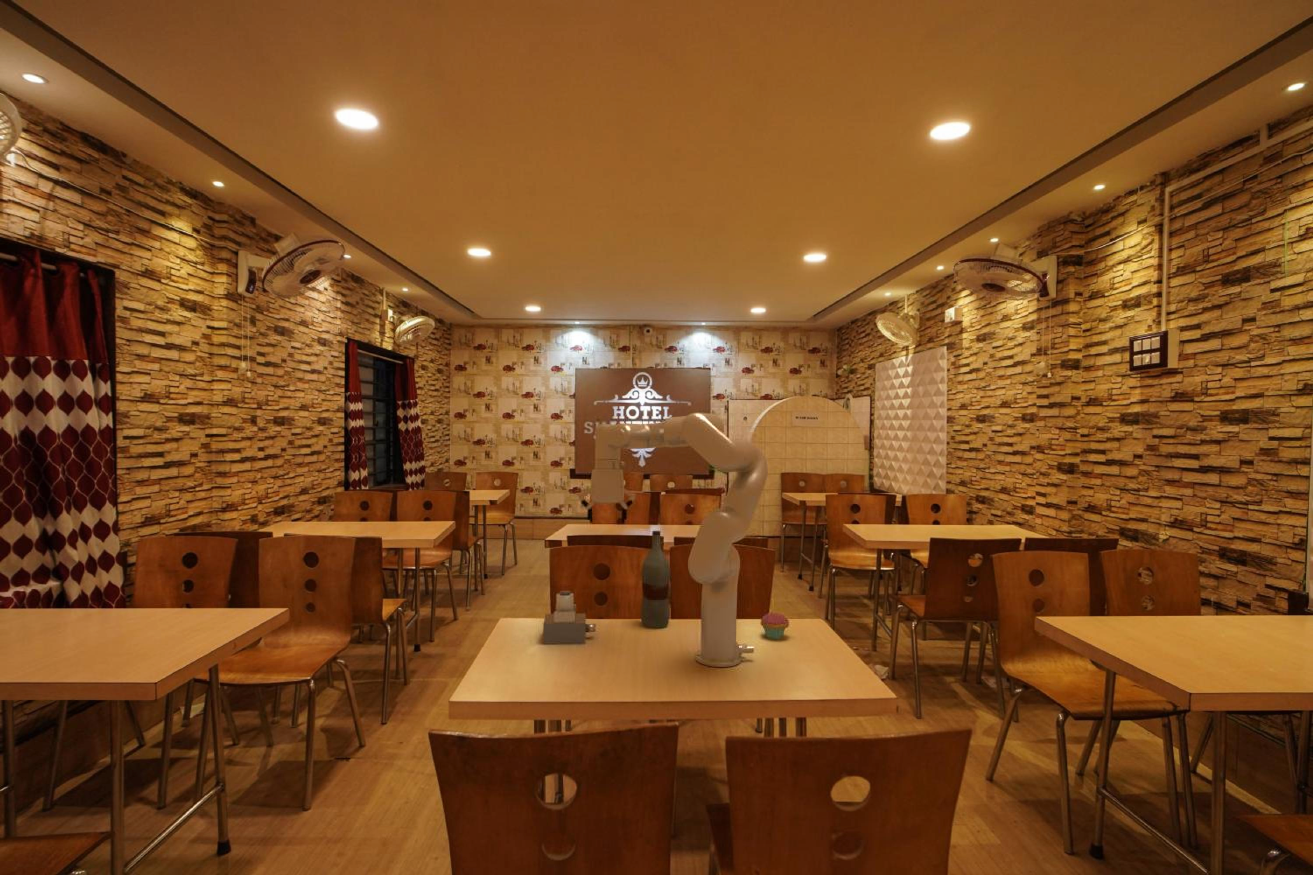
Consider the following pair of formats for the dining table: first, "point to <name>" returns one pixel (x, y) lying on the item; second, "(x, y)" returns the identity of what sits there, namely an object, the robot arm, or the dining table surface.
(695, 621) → the dining table surface
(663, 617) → the bottle
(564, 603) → the toy camera lens
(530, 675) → the dining table surface
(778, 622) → the cupcake
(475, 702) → the dining table surface
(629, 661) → the dining table surface
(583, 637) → the box with side knob
